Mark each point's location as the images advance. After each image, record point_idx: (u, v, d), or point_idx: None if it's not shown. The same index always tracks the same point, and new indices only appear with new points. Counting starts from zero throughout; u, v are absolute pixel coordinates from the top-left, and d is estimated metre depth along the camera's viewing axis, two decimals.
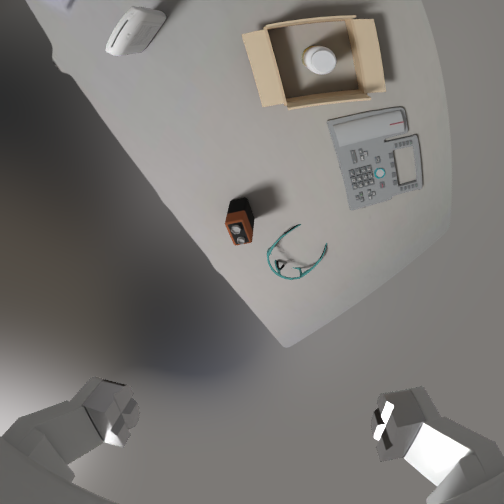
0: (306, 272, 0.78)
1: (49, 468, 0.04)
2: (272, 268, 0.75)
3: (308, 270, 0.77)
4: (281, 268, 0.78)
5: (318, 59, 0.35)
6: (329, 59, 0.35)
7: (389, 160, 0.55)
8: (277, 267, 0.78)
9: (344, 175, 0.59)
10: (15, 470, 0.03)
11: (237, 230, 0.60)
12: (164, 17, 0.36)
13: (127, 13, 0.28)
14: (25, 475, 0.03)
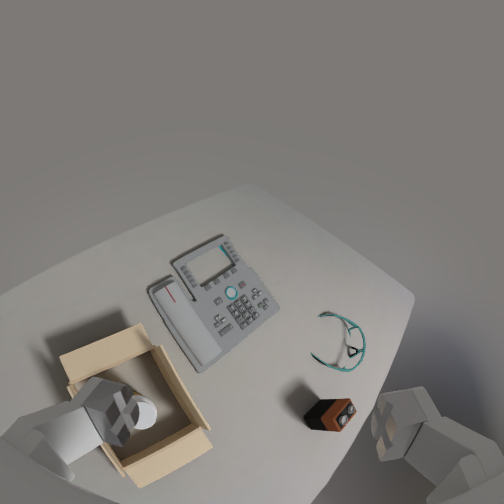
0: (351, 323, 0.68)
1: (49, 468, 0.04)
2: (360, 359, 0.62)
3: (349, 322, 0.68)
4: (356, 349, 0.66)
5: (142, 421, 0.30)
6: None
7: (213, 286, 0.54)
8: (356, 353, 0.66)
9: (249, 331, 0.54)
10: (15, 470, 0.03)
11: (343, 418, 0.46)
12: None
13: None
14: (25, 475, 0.03)
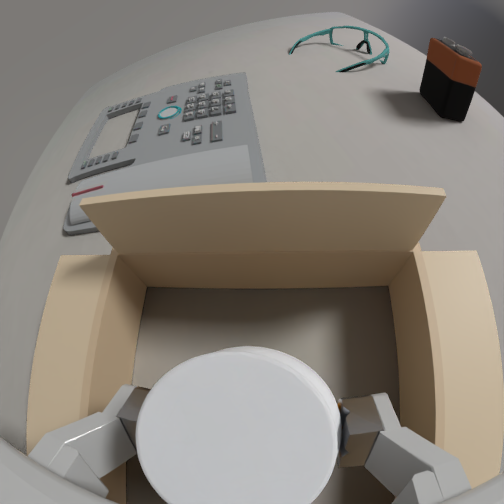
0: (323, 31, 0.36)
1: (84, 486, 0.04)
2: (378, 35, 0.32)
3: (319, 33, 0.37)
4: (361, 41, 0.36)
5: (273, 471, 0.04)
6: (179, 450, 0.04)
7: (139, 132, 0.26)
8: (368, 43, 0.35)
9: (247, 106, 0.26)
10: (15, 470, 0.03)
11: (461, 49, 0.18)
12: None
13: None
14: (25, 475, 0.03)
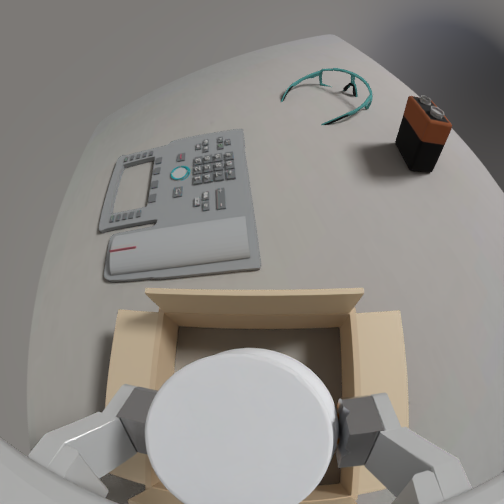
0: (313, 74, 0.45)
1: (84, 486, 0.04)
2: (363, 81, 0.40)
3: (310, 76, 0.45)
4: (348, 84, 0.44)
5: (273, 465, 0.04)
6: (186, 446, 0.05)
7: (156, 191, 0.34)
8: (354, 86, 0.44)
9: (244, 172, 0.34)
10: (15, 470, 0.03)
11: (434, 110, 0.27)
12: None
13: None
14: (25, 475, 0.03)
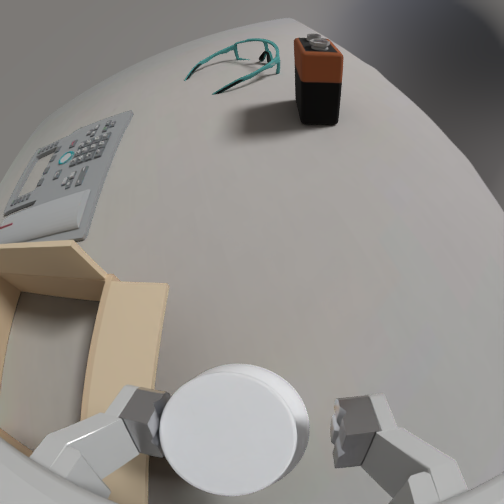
0: (225, 49, 0.41)
1: (87, 488, 0.04)
2: (273, 44, 0.36)
3: (222, 51, 0.41)
4: (263, 53, 0.40)
5: (253, 453, 0.06)
6: (190, 439, 0.06)
7: (45, 176, 0.30)
8: (268, 53, 0.39)
9: (110, 149, 0.30)
10: (15, 470, 0.03)
11: (316, 43, 0.22)
12: None
13: None
14: (25, 475, 0.03)
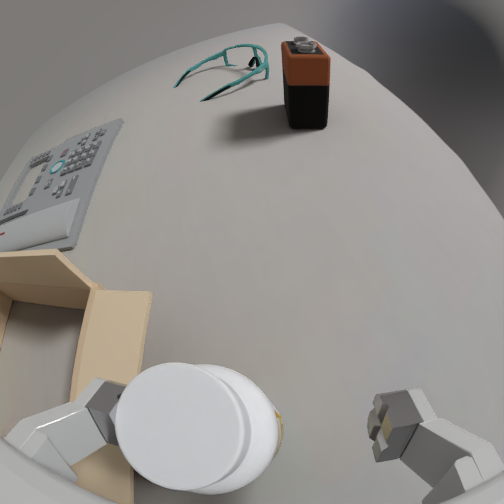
0: (214, 55, 0.41)
1: (52, 470, 0.04)
2: (261, 49, 0.36)
3: (211, 58, 0.41)
4: (252, 58, 0.40)
5: (199, 444, 0.06)
6: (141, 429, 0.06)
7: (37, 185, 0.30)
8: (257, 59, 0.40)
9: (100, 158, 0.30)
10: (15, 470, 0.03)
11: (303, 45, 0.22)
12: None
13: None
14: (25, 475, 0.03)
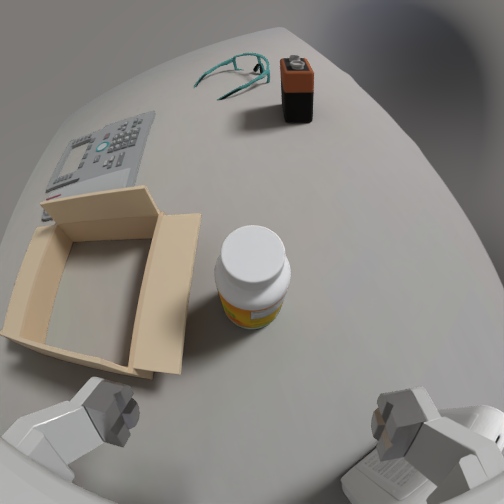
0: (226, 61, 0.52)
1: (49, 468, 0.04)
2: (264, 59, 0.47)
3: (223, 63, 0.52)
4: (256, 65, 0.51)
5: (265, 259, 0.17)
6: (236, 253, 0.17)
7: (85, 160, 0.41)
8: (261, 65, 0.50)
9: (142, 140, 0.41)
10: (15, 470, 0.03)
11: (295, 64, 0.33)
12: (344, 480, 0.15)
13: None
14: (25, 475, 0.03)
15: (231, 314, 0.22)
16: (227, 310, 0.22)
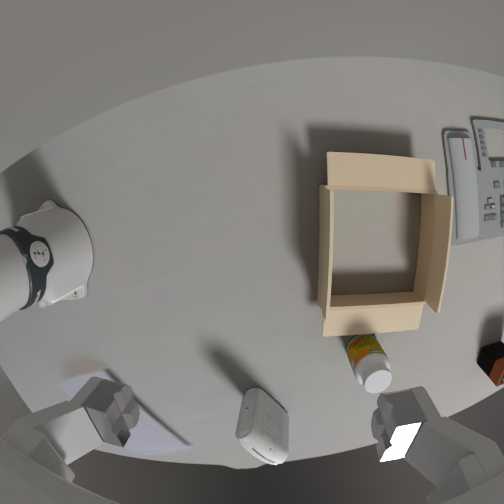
0: None
1: (49, 468, 0.04)
2: None
3: None
4: None
5: (373, 386, 0.31)
6: (380, 376, 0.31)
7: (497, 167, 0.31)
8: None
9: (503, 233, 0.33)
10: (15, 470, 0.03)
11: None
12: (259, 392, 0.43)
13: (243, 445, 0.34)
14: (25, 475, 0.03)
15: (358, 347, 0.37)
16: (360, 346, 0.37)
